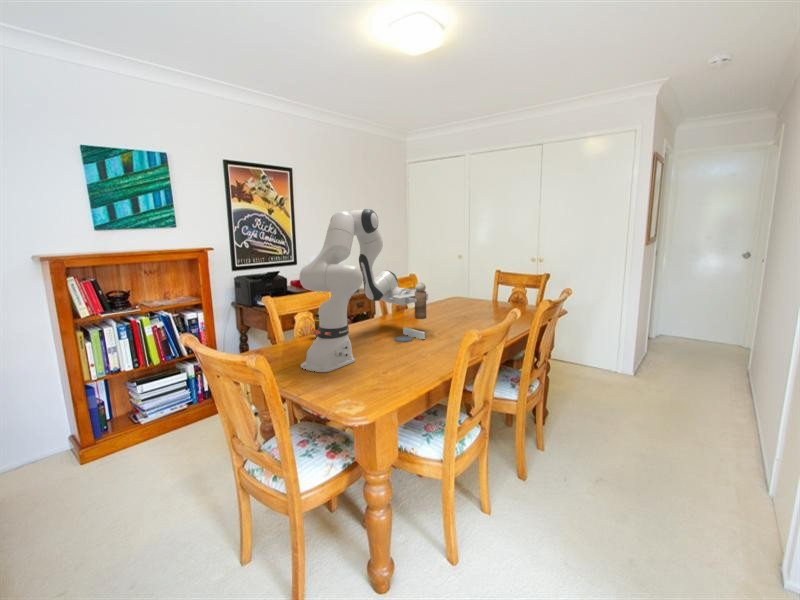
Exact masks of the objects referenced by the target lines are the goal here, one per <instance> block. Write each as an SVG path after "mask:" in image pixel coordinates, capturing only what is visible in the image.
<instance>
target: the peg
mask: <svg viewBox="0 0 800 600" xmlns="http://www.w3.org/2000/svg"><path fill="white" fill-rule="evenodd" d="M414 289H416V291H415V298H416V299H418V302H416V303H414V319H416V320H426V319H427V301H426V292H427V291H426V285H425V283H424V282H417V283H416V284H415V288H414Z"/></svg>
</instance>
